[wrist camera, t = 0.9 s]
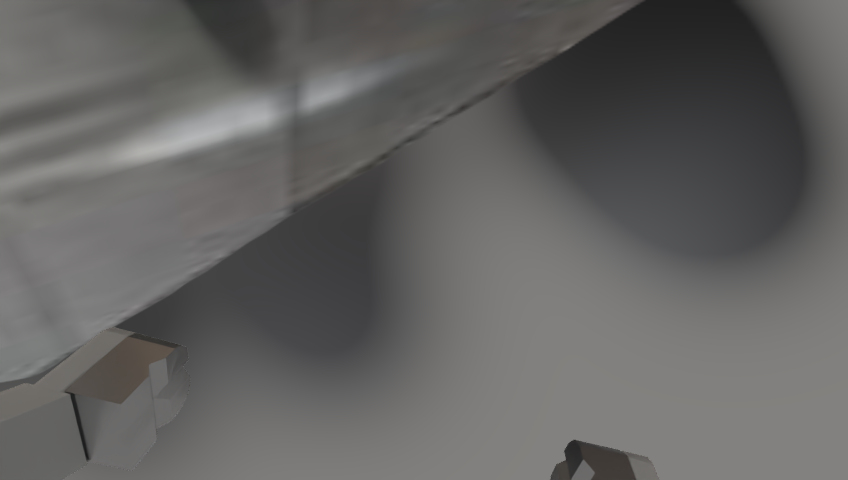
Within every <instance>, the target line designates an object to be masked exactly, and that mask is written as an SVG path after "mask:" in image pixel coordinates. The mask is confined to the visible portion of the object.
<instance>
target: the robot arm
mask: <svg viewBox="0 0 848 480" xmlns="http://www.w3.org/2000/svg"><path fill="white" fill-rule="evenodd" d="M188 360H189V358H188V350H187V347H185V346H182V345H179V344H175V343H172V342H168V341H164V340H161V339H157V338H153V337H149V336H146V335H142V334H138V333H133V332H130V331H126V330H122V329H118V328H115V327H112V328H109V329H106V330H103V331H102V332H100V333H99V334H98V335H96V336H95V337H94V338H93V339H91V340H90V341H89V342H88V343H86V344H85V345H84V346H82V347H81V348H80V349H79V350H77V351H76V352H75V353H74V354H72V355H71V356H70V357H69V358H68V359H66V360H65V361H63V362H62V363H61V364H60V365H59V366H57V367H56V368H54V369H53V370H52V371H51V372H50V373H48V374H47V375H46V376H44V377H43V378H42V379H41V380H39V381H38V382H37V383H35V384H34V385H32V384H27V383H25V384H22V385H19V386H16V387H13V388H11V389H8V390H5V391H2V392H0V480H62V479H64V478H65V477H67V476H69V475H71V474H72V473H74V472H76V471H77V470H79V469H81V468H82V467H84V466H86V465H87V462H92V463H97V464H101V465H106V466H110V467H116V468H120V469H125V470H129V471H133V470H134V468H135V467H136V466H137V465H138V463H139V462H140V461H141V460H142V458H143V457H144V456H145V454H146V453H147V452H148V451H149V450H150V448H151V447H152V446H153V444H154V443H155V442H156V440H157V428H159V427H161V426H163V425H165V424H167V423H169V422H171V421H172V420H173V419H174V418H175V416H176V415H177V414H178V412H179V411H180V410H181V408H182V406H183V404H184V402H185V400H186V398H187V395H188V391H189V387H190V375H189V374H188V373H187V372H186V370H185V369H184V368H183V366H184V364H185V363H186V362H187V361H188ZM564 452H565V457H566V460H565V461H563V462H561V463H559V464H556V466H555V468H554V471H553V472H552V475H551V479H550V480H659V477H658V475H657V473H656V470H655V468H654V465H653V464H652V462H651V461H650V460H649V459H648V457H645V456H641V455H637V454H632V453H628V452H624V451H620V450H616V449H612V448H608V447H604V446H599V445H595V444H590V443H586V442H582V441H577V440H573V441H571V442H570V443H568V445H567V447H566V448H565V451H564Z"/></svg>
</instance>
